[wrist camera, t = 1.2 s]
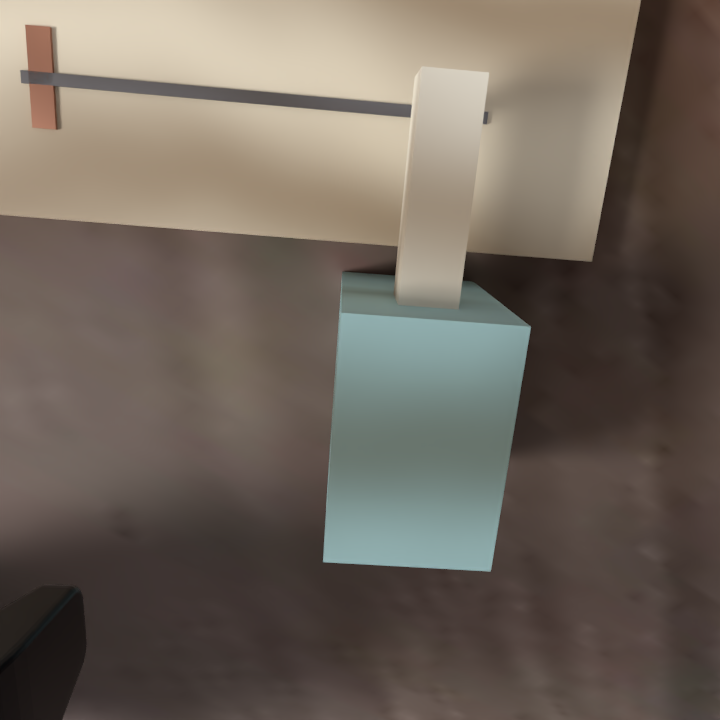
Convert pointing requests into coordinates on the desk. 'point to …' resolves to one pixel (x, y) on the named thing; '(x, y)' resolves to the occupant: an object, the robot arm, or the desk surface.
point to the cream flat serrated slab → (307, 114)
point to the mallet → (425, 366)
